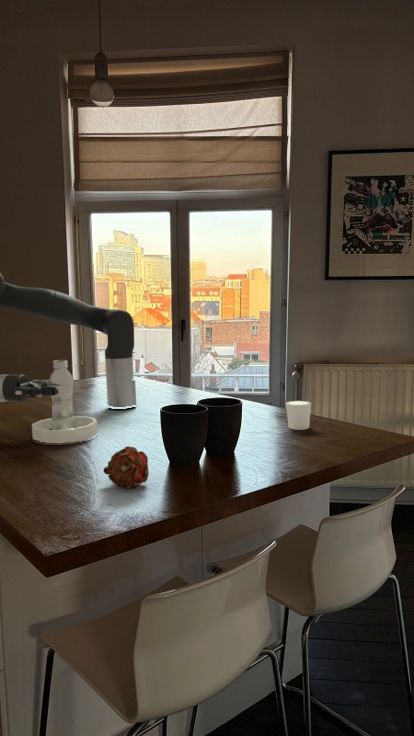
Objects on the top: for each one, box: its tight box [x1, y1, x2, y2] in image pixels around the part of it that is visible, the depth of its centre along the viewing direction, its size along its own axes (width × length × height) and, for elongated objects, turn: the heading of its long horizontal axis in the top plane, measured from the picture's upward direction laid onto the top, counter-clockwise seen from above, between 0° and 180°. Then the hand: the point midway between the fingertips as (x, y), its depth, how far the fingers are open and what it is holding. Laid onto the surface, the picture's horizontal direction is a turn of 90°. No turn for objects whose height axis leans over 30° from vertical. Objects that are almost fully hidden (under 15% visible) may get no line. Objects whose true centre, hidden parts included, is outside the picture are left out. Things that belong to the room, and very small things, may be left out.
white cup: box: [285, 400, 312, 431], centre depth 155 cm, size 7×7×7 cm
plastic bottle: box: [48, 359, 76, 430], centre depth 151 cm, size 6×7×20 cm
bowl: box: [31, 415, 99, 443], centre depth 152 cm, size 17×17×4 cm
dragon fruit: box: [103, 445, 150, 490], centre depth 112 cm, size 8×8×12 cm
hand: (63, 388), depth 150 cm, fingers open, 8 cm apart
